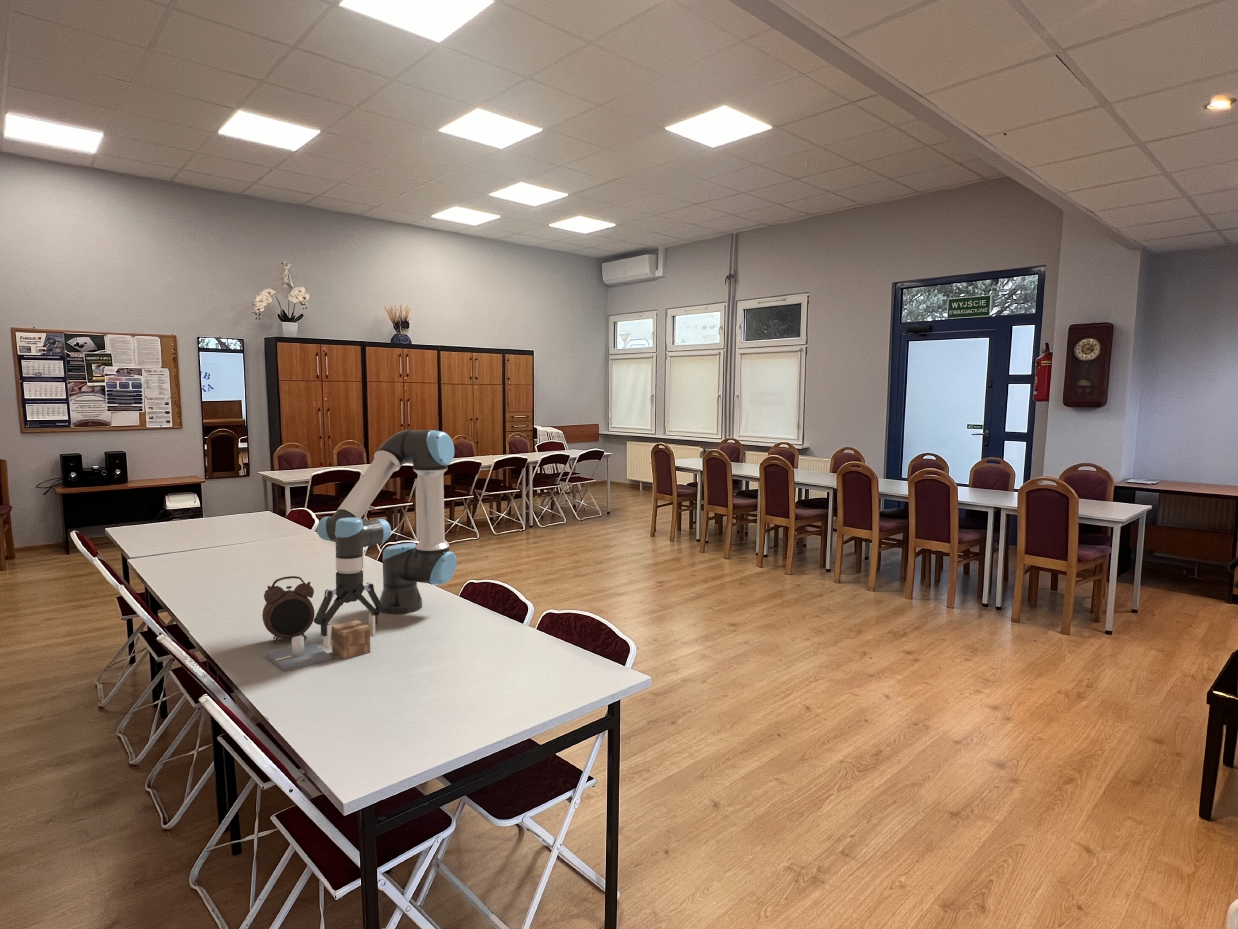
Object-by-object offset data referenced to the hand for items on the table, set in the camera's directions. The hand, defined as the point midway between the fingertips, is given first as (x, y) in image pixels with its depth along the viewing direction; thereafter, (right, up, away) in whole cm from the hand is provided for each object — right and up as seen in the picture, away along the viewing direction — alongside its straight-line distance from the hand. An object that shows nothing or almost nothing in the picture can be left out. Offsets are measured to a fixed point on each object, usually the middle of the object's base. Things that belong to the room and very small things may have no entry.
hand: (350, 641), depth 202 cm
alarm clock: (-23, -2, +10) cm, 25 cm away
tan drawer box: (0, -4, +1) cm, 4 cm away
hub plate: (-13, -4, -5) cm, 15 cm away
